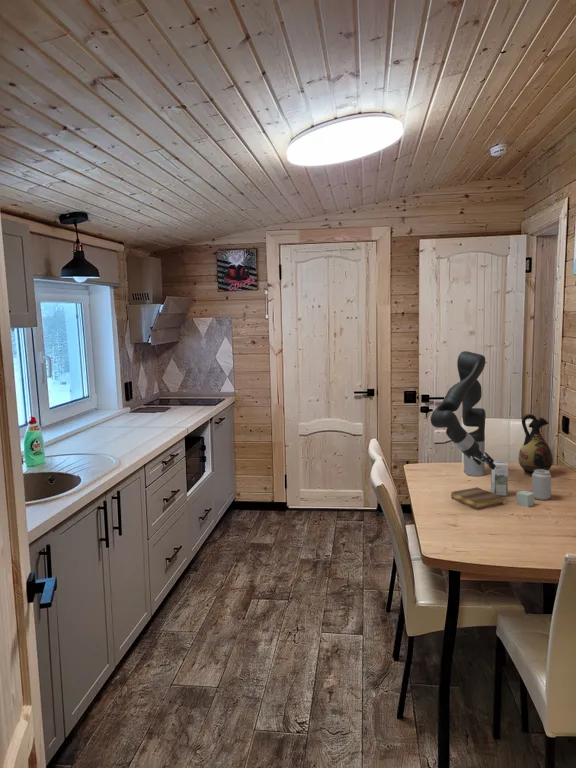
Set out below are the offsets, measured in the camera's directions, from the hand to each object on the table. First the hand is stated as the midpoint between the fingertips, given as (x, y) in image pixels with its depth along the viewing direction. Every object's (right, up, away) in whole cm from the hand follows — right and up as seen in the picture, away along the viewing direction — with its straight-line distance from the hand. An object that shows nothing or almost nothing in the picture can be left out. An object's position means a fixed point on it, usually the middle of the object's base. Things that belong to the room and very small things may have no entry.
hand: (487, 465), depth 242 cm
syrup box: (+7, -13, +4) cm, 16 cm away
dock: (-6, -15, -4) cm, 16 cm away
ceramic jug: (+34, -9, +32) cm, 48 cm away
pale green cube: (+12, -15, -10) cm, 22 cm away
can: (+22, -14, -3) cm, 26 cm away
